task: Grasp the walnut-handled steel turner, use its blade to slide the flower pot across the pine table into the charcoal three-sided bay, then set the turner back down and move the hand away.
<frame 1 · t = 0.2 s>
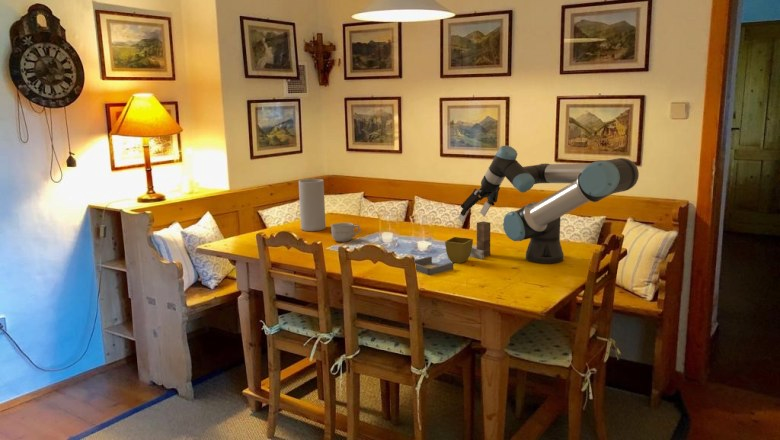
hand: (471, 217, 274), 15 cm above the table, tool tilted 35°, fingers open, 13 cm apart
flower pot: (459, 261, 262), on the table
turner: (474, 257, 268), on the table
bay: (430, 268, 253), on the table
cylinder vase: (313, 229, 329), on the table
teacup: (346, 241, 302), on the table
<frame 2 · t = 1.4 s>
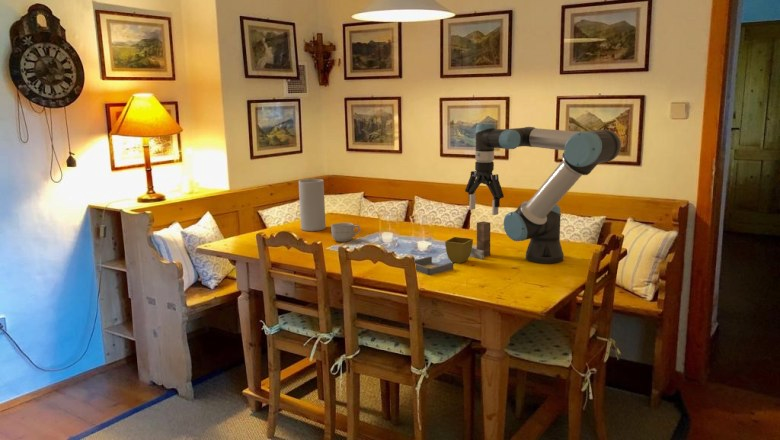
hand: (483, 212, 267), 19 cm above the table, tool pointing down, fingers open, 13 cm apart
nothing on the table moved.
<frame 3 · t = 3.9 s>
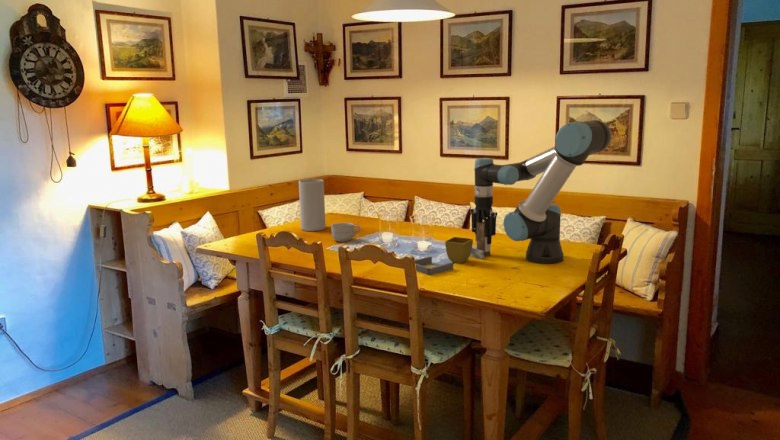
hand: (483, 250, 270), 2 cm above the table, tool pointing down, fingers closed on turner, 4 cm apart
turner: (475, 257, 268), on the table, touching gripper
everything else where it was.
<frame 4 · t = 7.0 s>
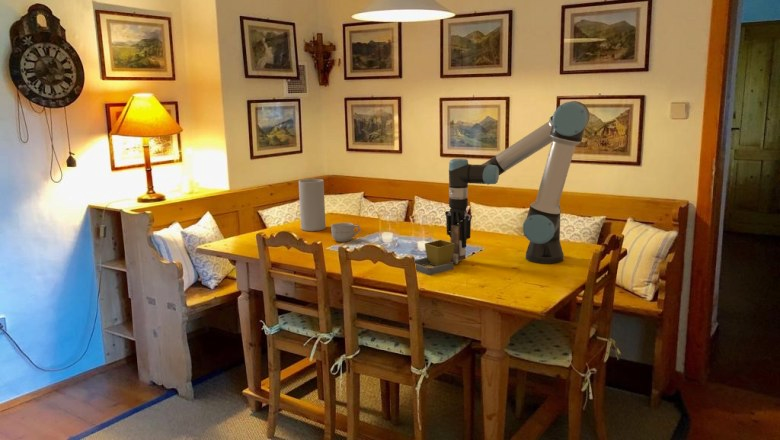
hand: (458, 253, 262), 3 cm above the table, tool pointing down, fingers closed on turner, 4 cm apart
flower pot: (439, 265, 258), on the table, touching turner
turner: (449, 261, 260), point 1 cm above the table, touching flower pot, gripper
everything else where it was.
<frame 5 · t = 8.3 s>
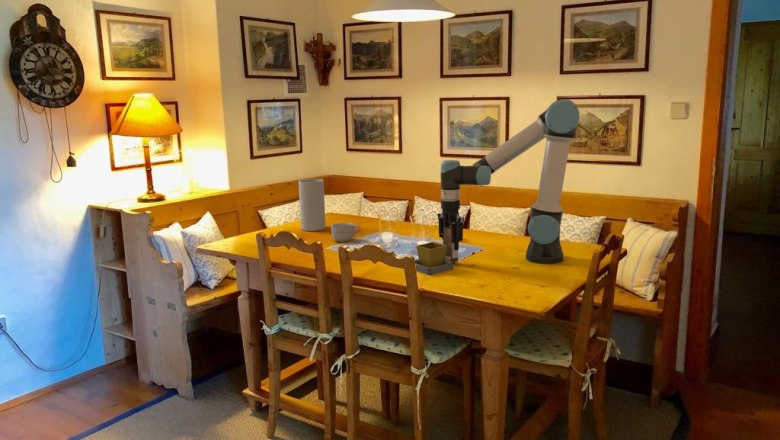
hand: (450, 256, 259), 3 cm above the table, tool pointing down, fingers closed on turner, 4 cm apart
flower pot: (431, 267, 255), on the table
turner: (441, 263, 257), point 1 cm above the table, touching gripper
everything else where it was.
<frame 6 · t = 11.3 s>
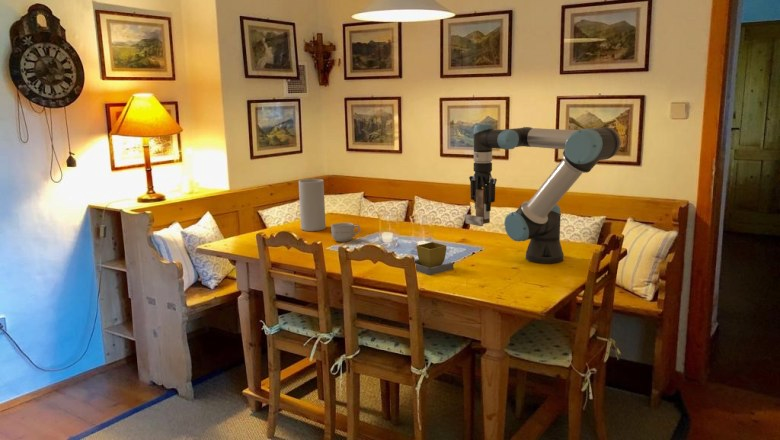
hand: (482, 217, 267), 16 cm above the table, tool pointing down, fingers closed on turner, 4 cm apart
turner: (474, 224, 265), point 14 cm above the table, touching gripper
everything else where it was.
when the fingers open (4 cm above the table, at t = 13.7 s): turner drops 2 cm, on the table.
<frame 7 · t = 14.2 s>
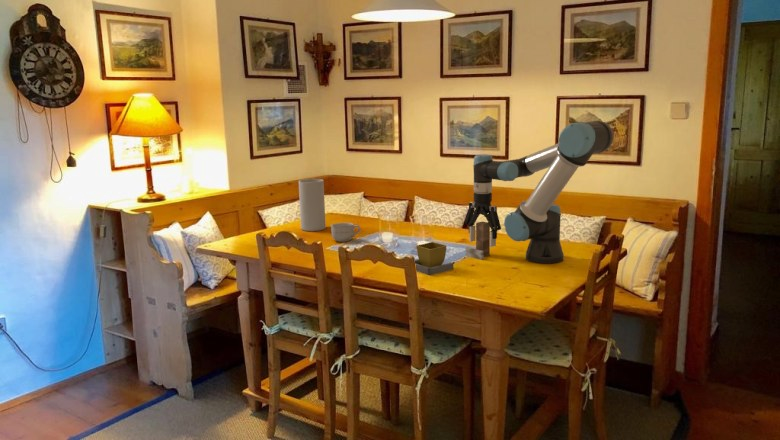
hand: (482, 243, 269), 5 cm above the table, tool pointing down, fingers open, 11 cm apart
turner: (474, 257, 268), on the table
everything else where it was.
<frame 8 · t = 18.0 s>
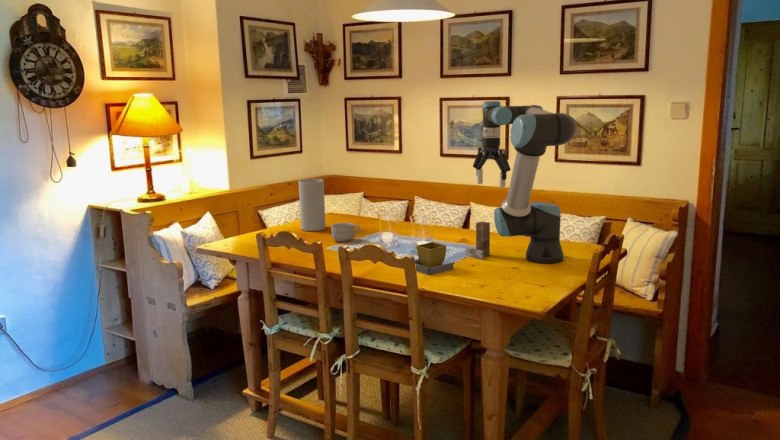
hand: (491, 185, 283), 27 cm above the table, tool pointing down, fingers open, 13 cm apart
nothing on the table moved.
at the end: flower pot 3.1 cm from the target spot on the bay, point 0.0 cm above the bay's base; flower pot tilted 0°; turner inside the target area (0.3 cm from its centre), on the table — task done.
